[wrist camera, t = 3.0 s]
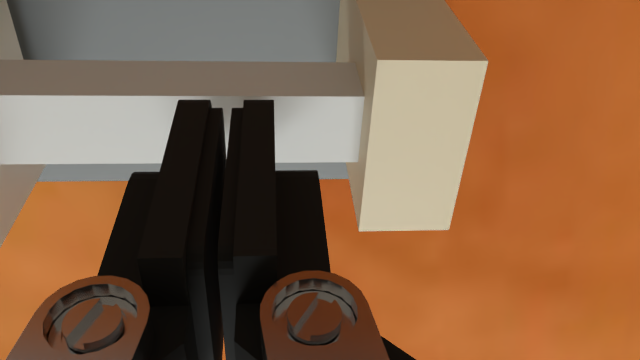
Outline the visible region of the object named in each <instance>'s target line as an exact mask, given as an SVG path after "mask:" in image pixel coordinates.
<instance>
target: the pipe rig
mask: <svg viewBox="0 0 640 360" xmlns="http://www.w3.org/2000/svg"><path fill="white" fill-rule="evenodd" d="M7 4H8V7H9V11H10V14H11V18H12V21H13V25H14V28H15V32H16V35H17V39H18V42H19V46H20V49H21V53H22V56H23V59H24V60H0V164H46V166H45V168H44V169H43V171H42V173H41V175H40V177H39V178H38V180H37V181H129V178H130V176H131V174H132V173H134V172H160V168H161V164H162V160H163V156H164V152H165V149H166V145H167V141H168V137H169V133H170V129H171V126H172V122H173V118H174V114H175V110H176V106H177V103H178V100H210V101H211V105H212V108H223V115H224V130H225V144H226V159H227V149H228V139H229V130H230V120H231V110H232V108H243V102H244V100H274V126H275V170H317V171H318V175H319V179H349V182H350V187H351V193H352V198H353V203H354V209H355V214H356V219H357V225H358V230H359V231H408V230H449V227H450V223H451V218H452V214H453V210H454V206H455V201H456V197H457V193H458V188H459V184H460V180H461V176H462V171H463V167H464V163H465V159H466V154H467V150H468V146H469V141H470V137H471V133H472V129H473V124H474V120H475V116H476V112H477V107H478V103H479V99H480V94H481V90H482V86H483V82H484V77H485V73H486V69H487V64H488V60H487V58H486V57H485V56H484V54H483V53H482V52H481V50H480V49H479V47H478V46H477V45H476V43H475V42H474V41H473V39H472V38H471V36H470V35H469V34H468V32H467V31H466V30H465V28H464V27H463V25H462V24H461V23H460V21H459V20H458V18H457V17H456V16H455V14H454V13H453V12H452V10H451V9H450V7H449V6H448V5H447V3H446V2H445V1H444V0H7Z"/></svg>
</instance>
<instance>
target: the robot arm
mask: <svg viewBox="0 0 640 360" xmlns="http://www.w3.org/2000/svg"><path fill="white" fill-rule="evenodd" d="M223 338H224V343H225V354H226V360H416V359H414V358H413V357H411V356H410V355H408V354H407V353H405V352H404V351H402V350H401V349H399V348H398V347H396V346H395V345H394V344H392V343H391V342H389V341H388V340H386V339H385V338H383V337H382V336H380V333H379V331H378V328H377V325H376V323H375V320H374V318H373V315H372V312H371V310H370V307H369V304H368V302H367V300H366V299H365V297H364V295H363V294H362V292H361V290H360V289H359V288H357V287H356V286H355V285H354V284H353V283H352V282H350V281H349V280H347V279H345V278H343V277H341V276H339V275H337V274H334V273H331V272H330V264H329V256H328V247H327V239H326V231H325V223H324V215H323V207H322V199H321V191H320V183H319V175H318V171H317V170H275V126H274V100H244V102H243V108H232V110H231V120H230V130H229V139H228V149H227V159H226V144H225V130H224V115H223V108H212V105H211V101H210V100H178V103H177V106H176V110H175V114H174V118H173V122H172V126H171V129H170V133H169V137H168V141H167V145H166V149H165V152H164V156H163V160H162V164H161V168H160V172H134V173H132V174H131V176H130V178H129V181H128V184H127V187H126V190H125V193H124V196H123V199H122V203H121V206H120V209H119V212H118V215H117V218H116V221H115V224H114V227H113V230H112V233H111V236H110V239H109V242H108V245H107V248H106V251H105V254H104V257H103V260H102V263H101V266H100V270H99V273H98V276H93V277H89V278H85V279H81V280H77V281H75V282H73V283H70V284H68V285H66V286H64V287H62V288H60V289H59V290H57V291H56V292H55V293H53V294H52V295H51V296H49V297H48V298H47V299H46V300H45V301H44V302H43V303H42V304H41V306H40V307H39V308H38V309H37V310H36V312H35V313H34V315H33V316H32V318H31V320H30V321H29V323H28V324H27V326H26V328H25V329H24V331H23V333H22V334H21V336H20V337H19V339H18V341H17V342H16V344H15V346H14V347H13V349H12V350H11V352H10V354H9V355H8V357H7V359H6V360H222V351H223Z"/></svg>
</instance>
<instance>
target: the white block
mask: <svg viewBox="0 0 640 360" xmlns="http://www.w3.org/2000/svg"><path fill="white" fill-rule="evenodd" d="M0 60H24V59H23V56H22V53H21V49H20V46H19V42H18V39H17V35H16V32H15V28H14V25H13V21H12V18H11V14H10V11H9V7H8V4H7V0H0ZM45 166H46V164H0V247H1V245H2V243H3V242H4V240H5V238H6V236H7V234H8V233H9V231H10V229H11V227H12V225H13V224H14V222H15V220H16V218H17V216H18V215H19V213H20V211H21V209H22V207H23V205H24V204H25V202H26V200H27V198H28V196H29V195H30V193H31V191H32V189H33V187H34V186H35V184H36V182H37V180H38V178H39V177H40V175H41V173H42V171H43V169H44V168H45Z"/></svg>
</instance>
